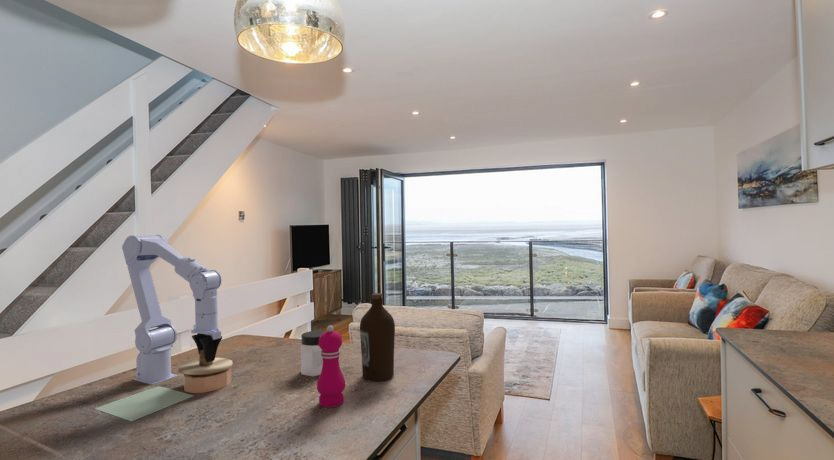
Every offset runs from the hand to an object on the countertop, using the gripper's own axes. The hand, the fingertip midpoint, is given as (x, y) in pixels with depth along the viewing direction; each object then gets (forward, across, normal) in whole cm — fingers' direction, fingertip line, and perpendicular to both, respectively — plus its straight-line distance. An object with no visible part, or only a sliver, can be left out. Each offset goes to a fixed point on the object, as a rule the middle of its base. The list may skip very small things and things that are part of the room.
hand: (207, 359), depth 119 cm
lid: (+2, 0, 0) cm, 2 cm away
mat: (+8, 0, -16) cm, 17 cm away
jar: (+8, +15, +27) cm, 31 cm away
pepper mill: (+8, +37, +16) cm, 41 cm away
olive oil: (+8, +33, +37) cm, 50 cm away
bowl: (+8, 0, 0) cm, 8 cm away
